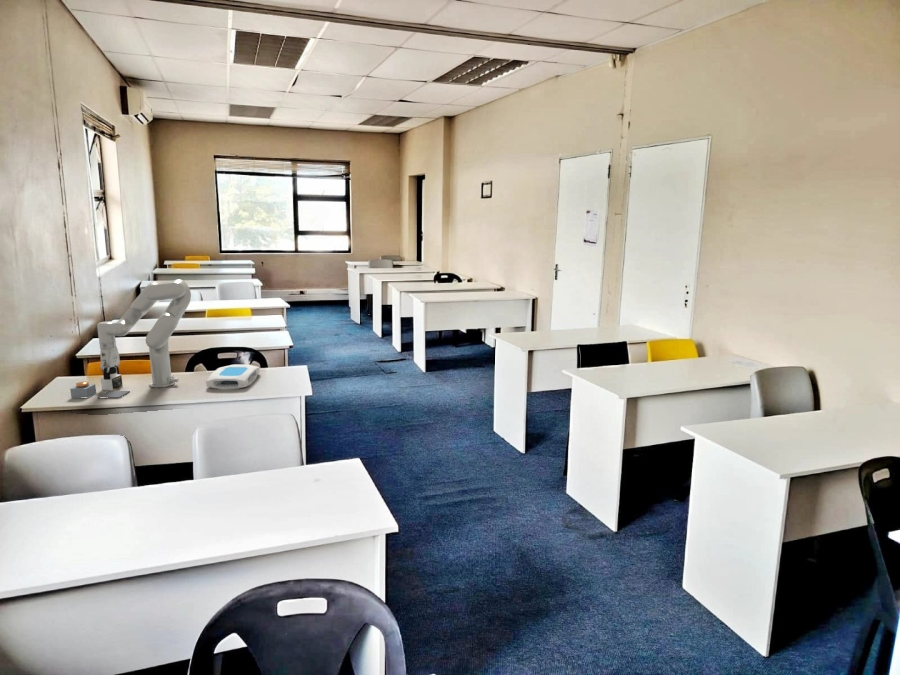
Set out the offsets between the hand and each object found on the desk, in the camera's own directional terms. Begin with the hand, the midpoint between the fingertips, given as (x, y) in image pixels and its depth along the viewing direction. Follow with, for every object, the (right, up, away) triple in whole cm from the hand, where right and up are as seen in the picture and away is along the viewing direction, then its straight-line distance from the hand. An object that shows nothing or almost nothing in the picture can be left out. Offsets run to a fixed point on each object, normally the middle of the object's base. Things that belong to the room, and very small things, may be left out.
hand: (111, 376), depth 315 cm
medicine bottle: (-1, -7, +2) cm, 7 cm away
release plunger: (-8, -9, -10) cm, 16 cm away
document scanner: (+59, -4, +16) cm, 62 cm away
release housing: (-8, -9, -10) cm, 16 cm away
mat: (+7, -9, -9) cm, 14 cm away
